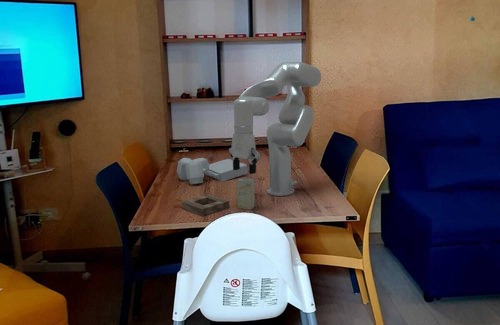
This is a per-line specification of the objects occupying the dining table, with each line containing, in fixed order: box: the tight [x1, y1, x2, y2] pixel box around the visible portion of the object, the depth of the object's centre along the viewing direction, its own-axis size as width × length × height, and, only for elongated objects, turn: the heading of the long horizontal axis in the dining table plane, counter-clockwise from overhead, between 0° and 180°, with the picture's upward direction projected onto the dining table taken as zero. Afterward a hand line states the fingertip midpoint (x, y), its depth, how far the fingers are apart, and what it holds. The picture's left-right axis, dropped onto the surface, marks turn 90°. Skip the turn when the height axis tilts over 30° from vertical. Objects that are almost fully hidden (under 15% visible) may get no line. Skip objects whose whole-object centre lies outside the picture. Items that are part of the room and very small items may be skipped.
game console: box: [176, 157, 249, 185], centre depth 247 cm, size 20×32×13 cm, turn 124°
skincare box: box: [236, 177, 255, 210], centre depth 199 cm, size 6×4×12 cm
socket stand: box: [181, 193, 230, 217], centre depth 201 cm, size 14×14×3 cm
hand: (244, 171), depth 196 cm, fingers open, 9 cm apart
